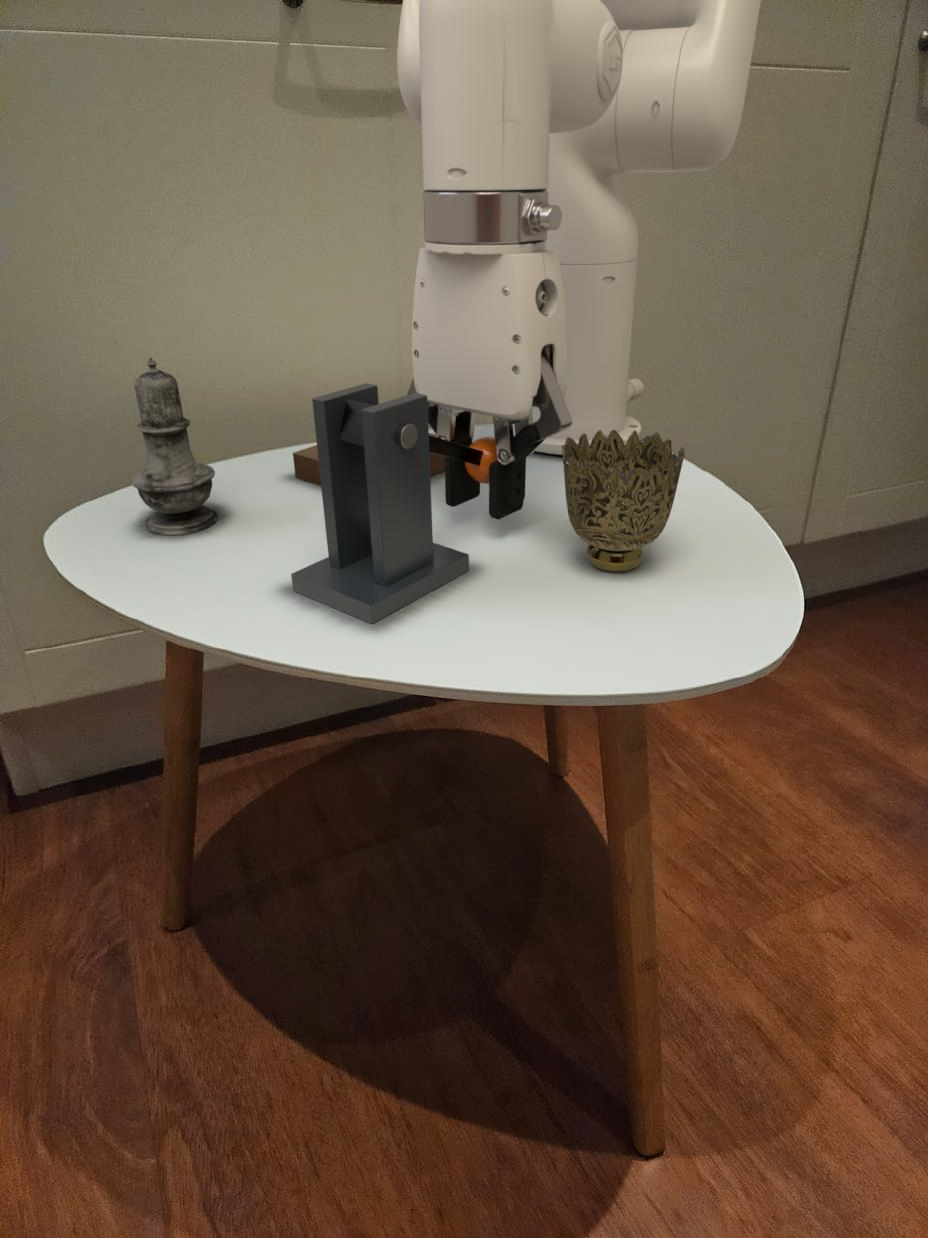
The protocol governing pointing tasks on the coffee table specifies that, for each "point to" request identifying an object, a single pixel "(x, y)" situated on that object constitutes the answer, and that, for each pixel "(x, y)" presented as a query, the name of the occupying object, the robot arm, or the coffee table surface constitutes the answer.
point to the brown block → (310, 471)
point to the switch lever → (473, 456)
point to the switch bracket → (376, 509)
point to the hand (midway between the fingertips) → (484, 504)
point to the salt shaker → (170, 460)
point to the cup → (619, 494)
